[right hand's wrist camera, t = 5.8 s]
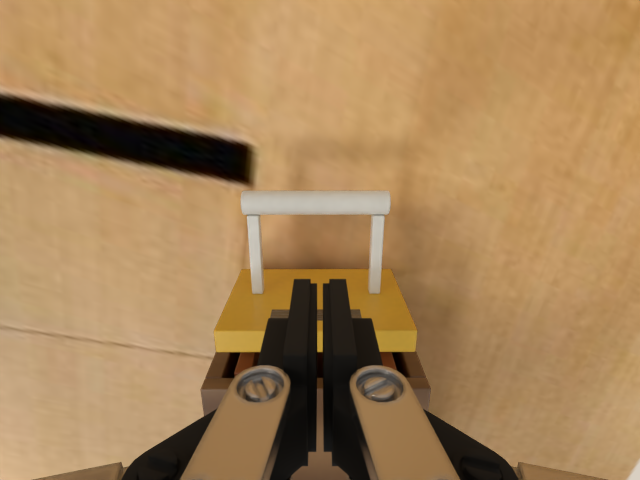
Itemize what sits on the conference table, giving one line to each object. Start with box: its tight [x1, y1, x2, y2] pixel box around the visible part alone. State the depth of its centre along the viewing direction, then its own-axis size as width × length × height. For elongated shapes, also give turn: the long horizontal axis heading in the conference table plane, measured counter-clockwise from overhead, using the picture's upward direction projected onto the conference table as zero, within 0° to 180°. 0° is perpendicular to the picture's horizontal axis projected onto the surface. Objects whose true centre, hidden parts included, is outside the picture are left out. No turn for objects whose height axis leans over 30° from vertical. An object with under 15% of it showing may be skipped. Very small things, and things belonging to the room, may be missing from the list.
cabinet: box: [201, 350, 431, 480], centre depth 25 cm, size 21×10×9 cm, turn 0°
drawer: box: [214, 191, 417, 378], centre depth 23 cm, size 26×9×7 cm, turn 0°
